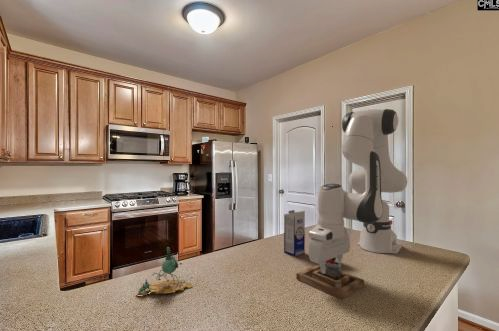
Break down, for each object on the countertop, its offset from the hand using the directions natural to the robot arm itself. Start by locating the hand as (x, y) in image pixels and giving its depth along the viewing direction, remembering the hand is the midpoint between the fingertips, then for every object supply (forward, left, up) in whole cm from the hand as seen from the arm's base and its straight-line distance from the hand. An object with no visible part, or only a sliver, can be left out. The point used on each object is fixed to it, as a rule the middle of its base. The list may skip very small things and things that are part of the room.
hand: (330, 269), depth 87 cm
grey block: (0, 0, -4) cm, 4 cm away
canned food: (-15, -12, -4) cm, 20 cm away
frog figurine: (+47, -31, -4) cm, 57 cm away
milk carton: (-12, -27, -4) cm, 30 cm away
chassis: (0, 0, -4) cm, 4 cm away
